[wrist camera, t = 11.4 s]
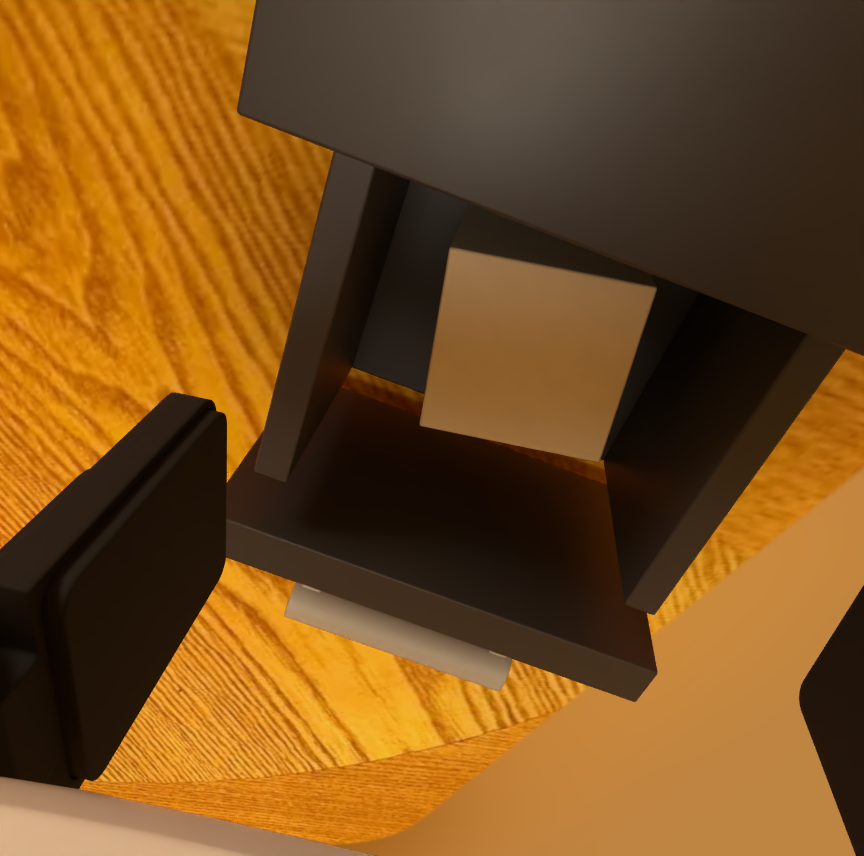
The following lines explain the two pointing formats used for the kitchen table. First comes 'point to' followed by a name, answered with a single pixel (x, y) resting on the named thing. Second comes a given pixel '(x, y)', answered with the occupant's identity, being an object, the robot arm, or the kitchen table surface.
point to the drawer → (493, 464)
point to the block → (532, 338)
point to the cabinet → (606, 128)
